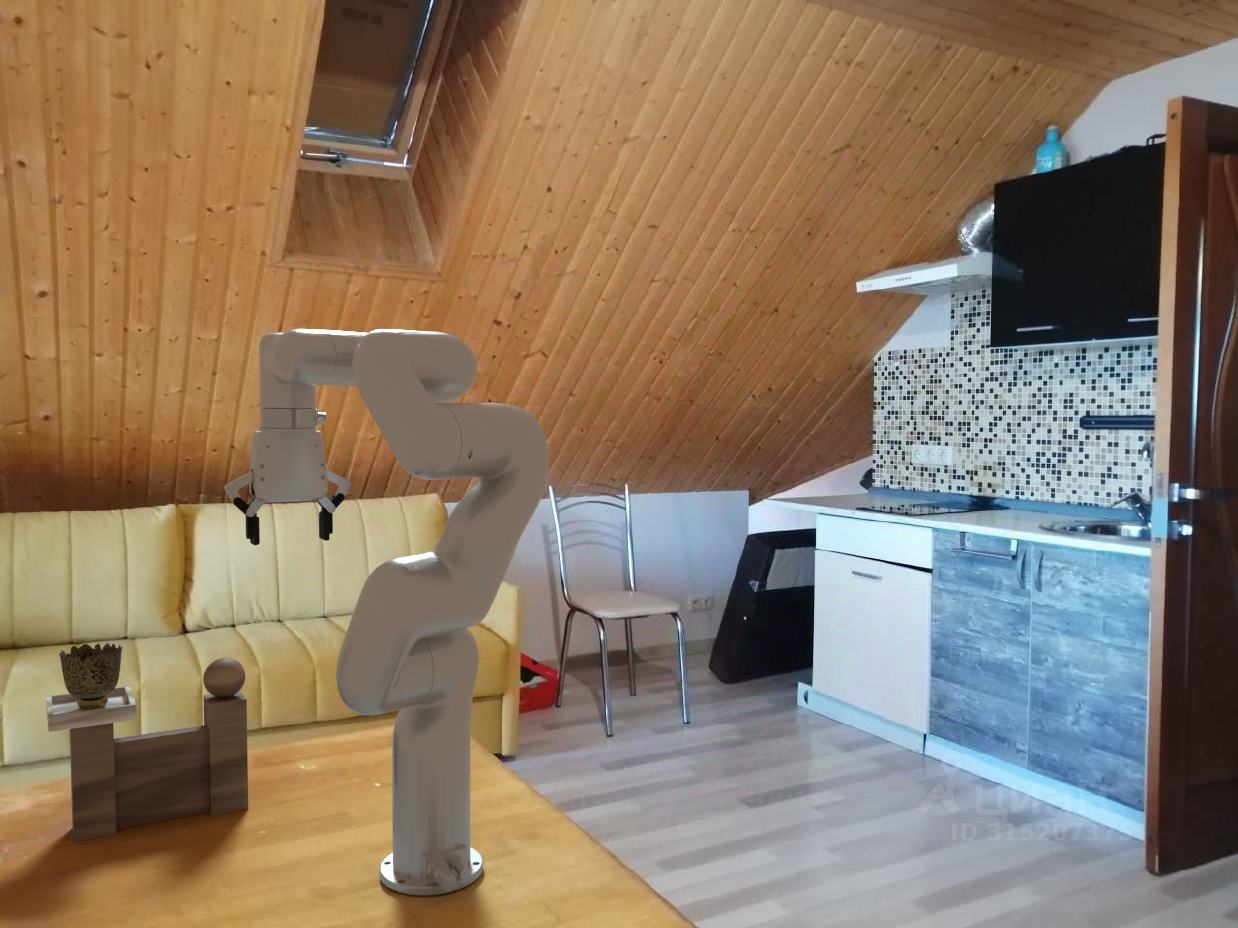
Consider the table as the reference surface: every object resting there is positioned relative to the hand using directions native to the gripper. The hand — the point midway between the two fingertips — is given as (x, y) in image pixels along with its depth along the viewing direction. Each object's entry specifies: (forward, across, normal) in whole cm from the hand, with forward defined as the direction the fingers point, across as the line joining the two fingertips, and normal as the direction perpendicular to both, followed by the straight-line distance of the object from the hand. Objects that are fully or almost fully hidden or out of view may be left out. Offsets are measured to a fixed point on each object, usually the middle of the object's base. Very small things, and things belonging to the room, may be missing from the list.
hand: (290, 541), depth 145 cm
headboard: (+38, +18, -4) cm, 43 cm away
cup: (+22, +25, -4) cm, 33 cm away
